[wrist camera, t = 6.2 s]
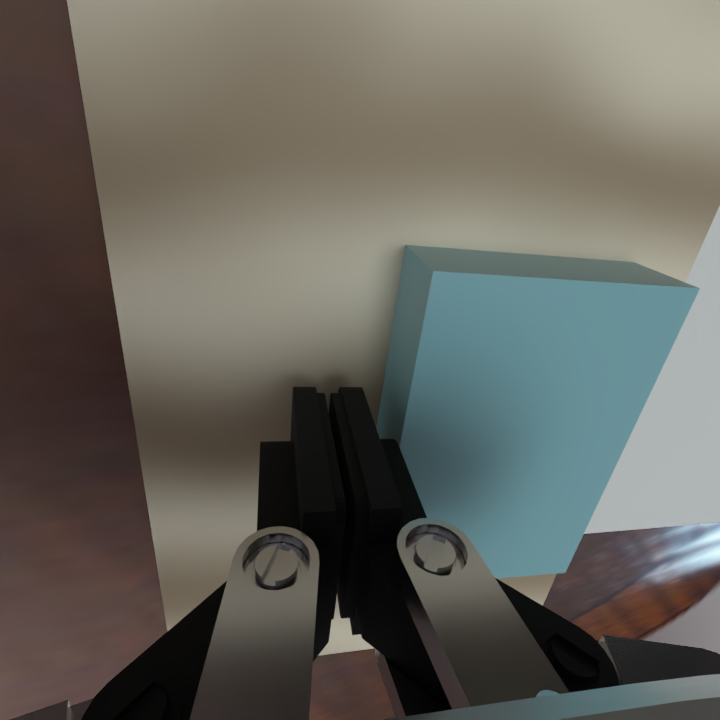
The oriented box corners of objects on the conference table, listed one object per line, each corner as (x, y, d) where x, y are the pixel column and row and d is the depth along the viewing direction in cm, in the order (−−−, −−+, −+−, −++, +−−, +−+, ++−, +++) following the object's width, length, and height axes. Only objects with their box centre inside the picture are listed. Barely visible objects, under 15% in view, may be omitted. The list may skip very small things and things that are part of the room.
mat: (678, 29, 13) (690, 27, 12) (999, 87, 15) (1016, 86, 15) (505, 533, 22) (509, 539, 22) (725, 515, 24) (732, 521, 24)
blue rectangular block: (405, 244, 10) (433, 271, 8) (634, 262, 11) (699, 288, 10) (360, 531, 14) (372, 588, 12) (532, 521, 15) (565, 572, 14)
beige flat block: (113, -136, 9) (21, -284, 6) (679, -19, 12) (842, -73, 9) (191, 574, 19) (174, 673, 16) (491, 548, 22) (532, 628, 19)
